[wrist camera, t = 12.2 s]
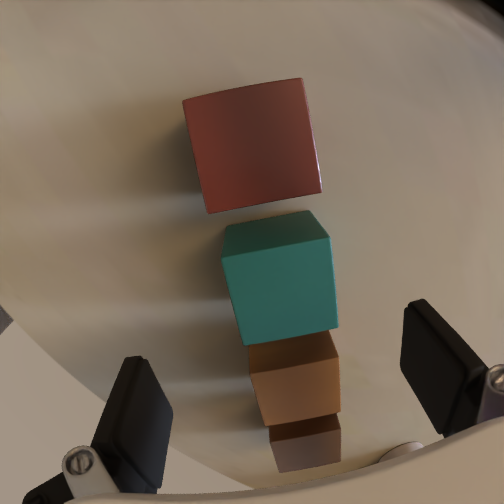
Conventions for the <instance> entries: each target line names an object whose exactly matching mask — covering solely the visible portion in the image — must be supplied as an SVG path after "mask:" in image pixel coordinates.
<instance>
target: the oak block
mask: <svg viewBox="0 0 504 504" xmlns="http://www.w3.org/2000/svg"><path fill="white" fill-rule="evenodd" d="M249 369H250V377H251V381H252V384H253V388H254V391H255V395H256V398H257V401H258V405H259V408H260V412H261V415H262V418H263V422H264V425H265V426H270V425H276V424H282V423H288V422H294V421H300V420H305V419H310V418H315V417H320V416H324V415H329V414H333V413H338V412H341V394H340V367H339V356H338V353H337V350H336V348H335V345H334V343H333V340H332V337H331V335H330V332H329V330H325V331H321V332H316V333H311V334H306V335H301V336H296V337H291V338H286V339H280V340H275V341H269V342H263V343H258V344H252V345H249Z"/></svg>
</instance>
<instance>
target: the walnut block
mask: <svg viewBox="0 0 504 504" xmlns="http://www.w3.org/2000/svg"><path fill="white" fill-rule="evenodd" d="M269 438H270V444H271V448H272V451H273V454H274V457H275V461H276V464H277V467H278V470H279V473H283V472H289V471H296V470H302V469H307V468H313V467H318V466H323V465H327V464H332V463H336V462H340V461H341V427H340V423H339V420H338V416H337V413H333V414H329V415H324V416H320V417H315V418H310V419H305V420H300V421H294V422H288V423H282V424H276V425H270V426H269Z"/></svg>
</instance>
